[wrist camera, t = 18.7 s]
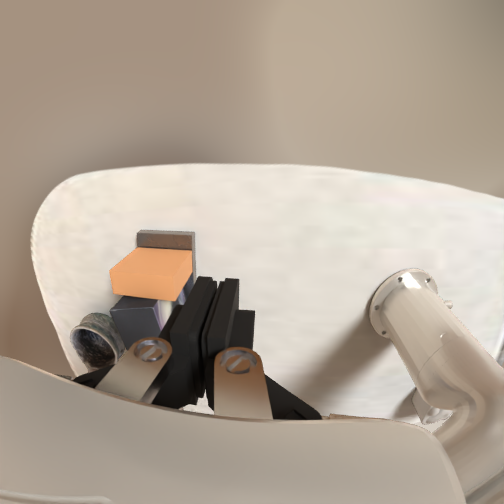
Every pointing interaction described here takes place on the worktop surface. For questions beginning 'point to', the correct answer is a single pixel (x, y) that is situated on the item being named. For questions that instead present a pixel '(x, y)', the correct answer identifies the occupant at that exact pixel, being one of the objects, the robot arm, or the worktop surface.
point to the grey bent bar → (171, 247)
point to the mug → (97, 341)
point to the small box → (142, 317)
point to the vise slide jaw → (152, 273)
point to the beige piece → (428, 410)
